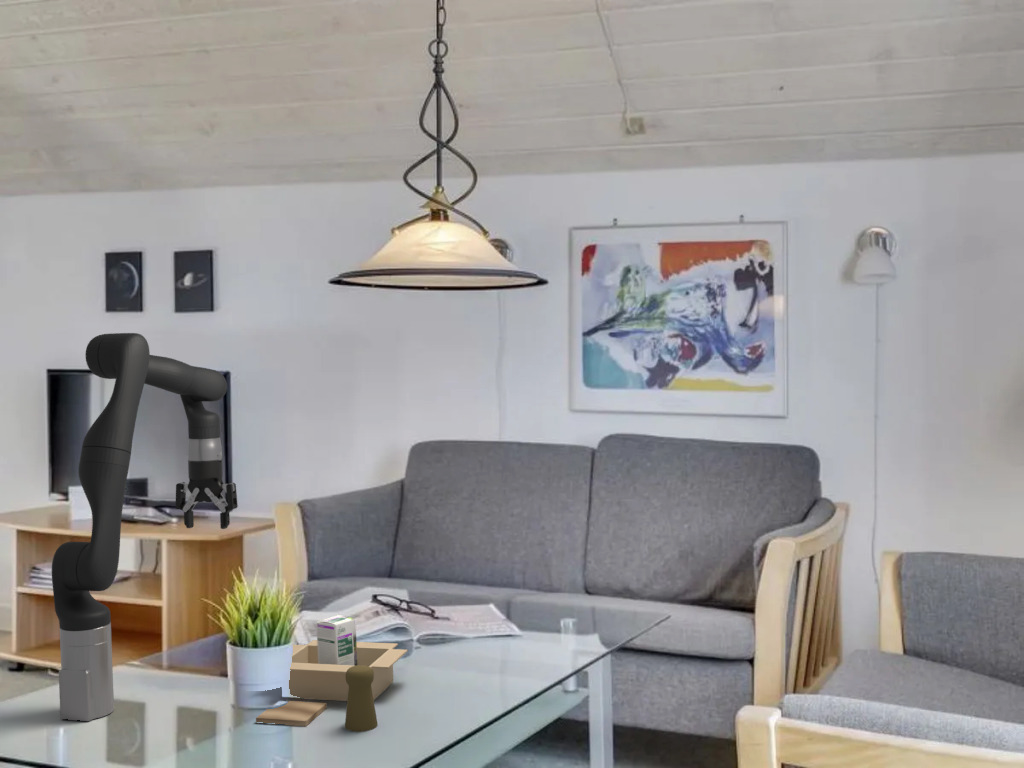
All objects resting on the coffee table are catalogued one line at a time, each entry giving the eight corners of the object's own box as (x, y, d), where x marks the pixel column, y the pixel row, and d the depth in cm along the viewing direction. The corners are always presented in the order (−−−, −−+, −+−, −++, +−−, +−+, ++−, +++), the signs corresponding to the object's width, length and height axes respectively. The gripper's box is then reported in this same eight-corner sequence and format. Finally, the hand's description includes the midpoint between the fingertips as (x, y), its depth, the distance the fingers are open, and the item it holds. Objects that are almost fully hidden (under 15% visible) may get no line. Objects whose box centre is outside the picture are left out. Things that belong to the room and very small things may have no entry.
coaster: (306, 726, 202) (305, 721, 202) (255, 723, 204) (255, 718, 204) (326, 708, 212) (326, 702, 212) (278, 705, 214) (278, 700, 214)
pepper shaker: (347, 720, 205) (346, 662, 205) (379, 719, 205) (378, 661, 204) (341, 731, 199) (339, 672, 199) (374, 731, 199) (373, 671, 198)
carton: (414, 677, 230) (413, 644, 230) (382, 709, 211) (381, 673, 210) (299, 671, 236) (298, 639, 236) (257, 702, 216) (256, 667, 216)
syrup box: (338, 696, 219) (336, 624, 218) (318, 690, 223) (315, 620, 222) (358, 688, 224) (356, 617, 223) (338, 683, 227) (336, 613, 227)
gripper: (168, 459, 249) (170, 530, 250) (226, 459, 246) (228, 531, 247) (184, 456, 257) (186, 525, 257) (241, 456, 254) (243, 525, 254)
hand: (207, 528), depth 252 cm, fingers open, 8 cm apart
